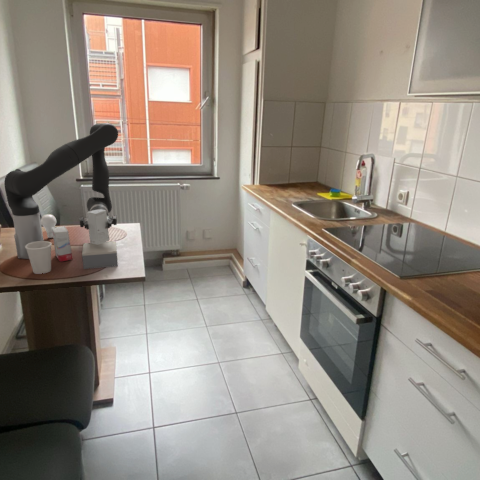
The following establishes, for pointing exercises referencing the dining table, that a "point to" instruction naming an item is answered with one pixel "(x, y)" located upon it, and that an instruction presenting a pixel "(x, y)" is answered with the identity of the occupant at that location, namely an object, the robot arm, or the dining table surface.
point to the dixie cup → (40, 256)
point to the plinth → (99, 255)
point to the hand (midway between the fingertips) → (98, 226)
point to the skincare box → (98, 226)
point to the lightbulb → (48, 224)
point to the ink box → (62, 243)
